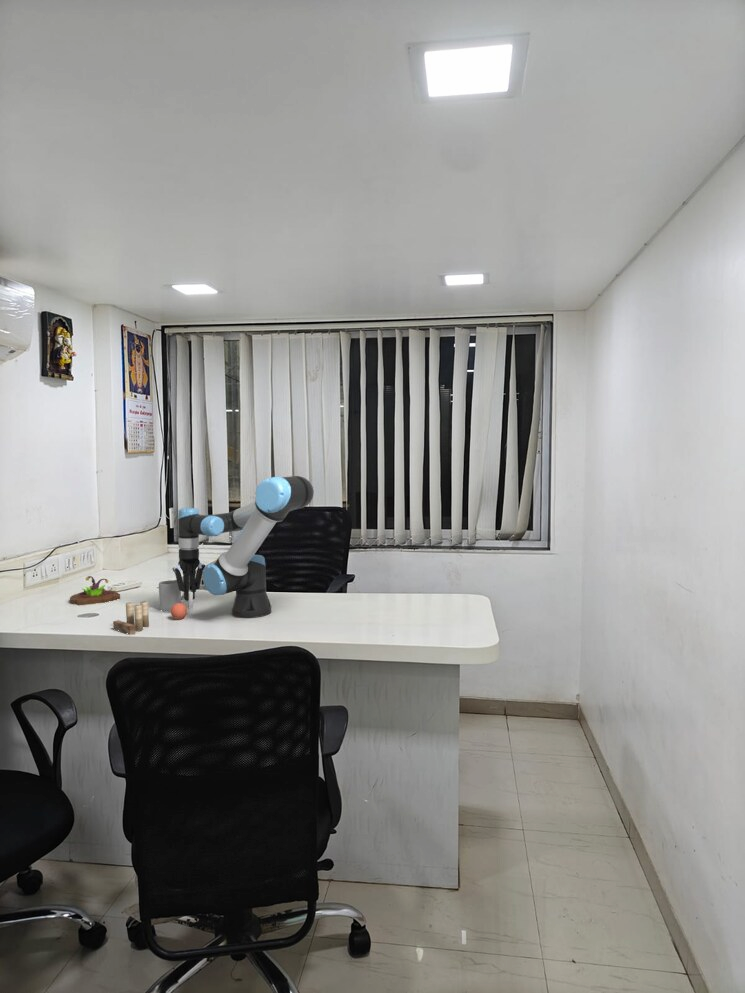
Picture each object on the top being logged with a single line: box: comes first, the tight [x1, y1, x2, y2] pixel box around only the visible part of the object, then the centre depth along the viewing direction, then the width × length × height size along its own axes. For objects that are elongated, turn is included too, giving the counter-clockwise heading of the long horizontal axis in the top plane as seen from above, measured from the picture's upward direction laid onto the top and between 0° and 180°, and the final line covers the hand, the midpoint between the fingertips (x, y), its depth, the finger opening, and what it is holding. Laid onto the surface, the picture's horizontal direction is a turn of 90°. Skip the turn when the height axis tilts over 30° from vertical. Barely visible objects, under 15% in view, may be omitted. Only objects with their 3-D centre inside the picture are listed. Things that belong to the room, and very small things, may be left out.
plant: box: [69, 575, 121, 606], centre depth 287 cm, size 20×20×11 cm
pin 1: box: [125, 602, 135, 625], centre depth 237 cm, size 3×3×9 cm
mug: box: [158, 579, 185, 612], centre depth 267 cm, size 12×8×11 cm
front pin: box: [139, 601, 150, 628], centre depth 238 cm, size 3×3×9 cm
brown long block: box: [112, 619, 137, 635], centre depth 232 cm, size 12×2×3 cm, turn 48°
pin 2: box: [134, 604, 144, 632], centre depth 233 cm, size 3×3×9 cm
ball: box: [170, 602, 188, 620], centre depth 248 cm, size 6×6×6 cm
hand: (189, 608), depth 254 cm, fingers closed
